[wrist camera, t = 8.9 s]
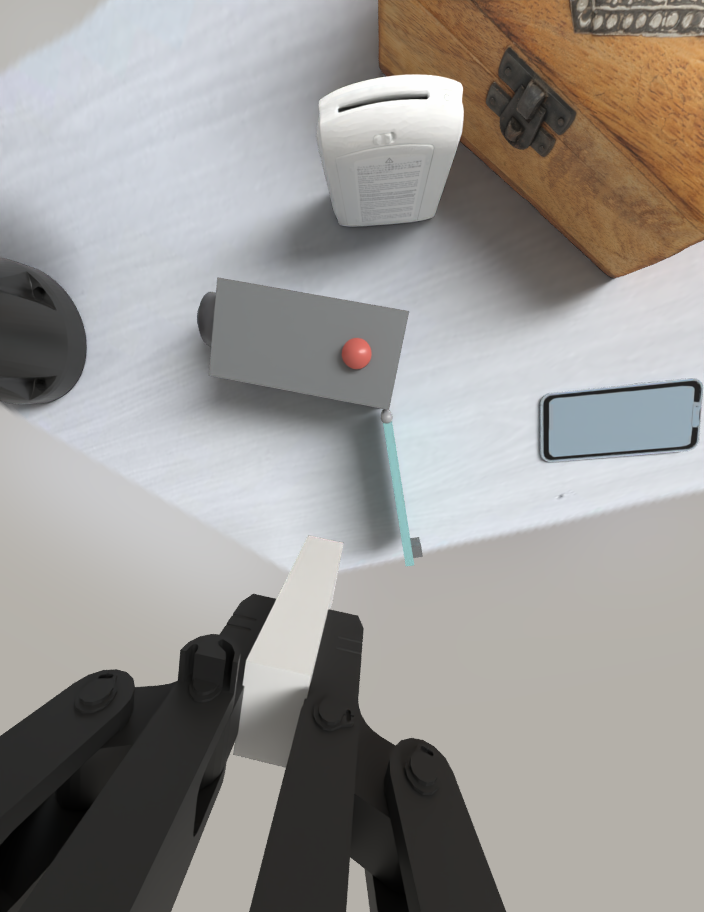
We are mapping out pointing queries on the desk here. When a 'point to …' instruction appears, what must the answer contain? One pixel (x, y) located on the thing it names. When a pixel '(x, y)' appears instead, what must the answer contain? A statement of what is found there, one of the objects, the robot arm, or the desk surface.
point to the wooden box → (575, 110)
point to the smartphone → (621, 420)
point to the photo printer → (389, 147)
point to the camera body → (302, 342)
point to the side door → (399, 493)
